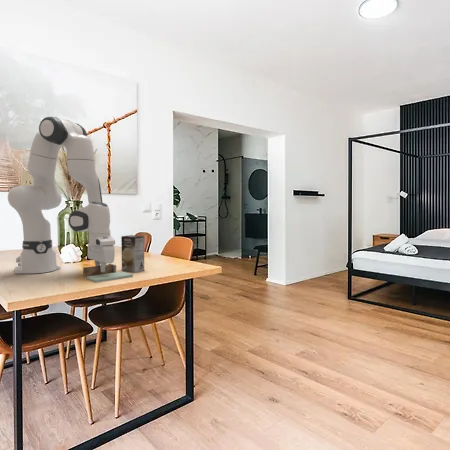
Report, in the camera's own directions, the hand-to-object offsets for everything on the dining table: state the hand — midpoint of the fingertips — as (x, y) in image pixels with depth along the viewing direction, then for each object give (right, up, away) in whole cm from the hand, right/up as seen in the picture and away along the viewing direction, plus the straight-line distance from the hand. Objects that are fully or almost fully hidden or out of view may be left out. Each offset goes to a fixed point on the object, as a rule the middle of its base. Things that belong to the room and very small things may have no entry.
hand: (100, 271), depth 155 cm
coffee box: (+11, -1, +10) cm, 16 cm away
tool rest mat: (+6, -2, -6) cm, 9 cm away
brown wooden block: (-1, -2, -1) cm, 2 cm away
